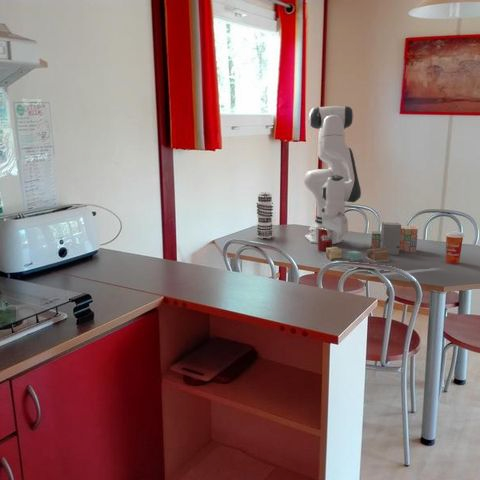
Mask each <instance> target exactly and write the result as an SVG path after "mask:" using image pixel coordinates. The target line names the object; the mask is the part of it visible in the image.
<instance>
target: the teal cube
mask: <svg viewBox="0 0 480 480" xmlns="http://www.w3.org/2000/svg"><path fill="white" fill-rule="evenodd" d="M346 259H348V260H349V261H351V262H354V261H355V262H356V261H361V260H362V252H360V251H358V250H352V251H351V250H350V251H349V250H348V251H347V258H346Z"/></svg>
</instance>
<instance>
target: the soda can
mask: <svg viewBox="0 0 480 480" xmlns="http://www.w3.org/2000/svg"><path fill="white" fill-rule="evenodd" d="M331 232H332V238H328V233H327V228H325V227H319V228H318V243H317V252H319V253H321V252H324V253H326V248H332V247H333V244H332V240H333V231H332V230H331Z"/></svg>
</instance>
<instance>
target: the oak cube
mask: <svg viewBox="0 0 480 480" xmlns="http://www.w3.org/2000/svg"><path fill="white" fill-rule="evenodd" d="M342 252H343V250H342V249H341V248H339V247H338V246H336V247H335V246H334V247H333V246H332V248H326V252H325V258H326V259H327V260H329V261H335V259H341V258H342V257H343V255H342V254H343V253H342Z"/></svg>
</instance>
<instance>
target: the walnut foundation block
mask: <svg viewBox="0 0 480 480" xmlns="http://www.w3.org/2000/svg"><path fill="white" fill-rule="evenodd" d="M366 257H367V258H366V259H368V258H369V259H368V260H370V259H371V260H370V261H372V260H373V261H372V262H374V261H377V262H384V261H383V260H388V261H389V255H388V251H386V250H384V249H381V248H376V249H372V248H369V249H368V248H367V249H366Z"/></svg>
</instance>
